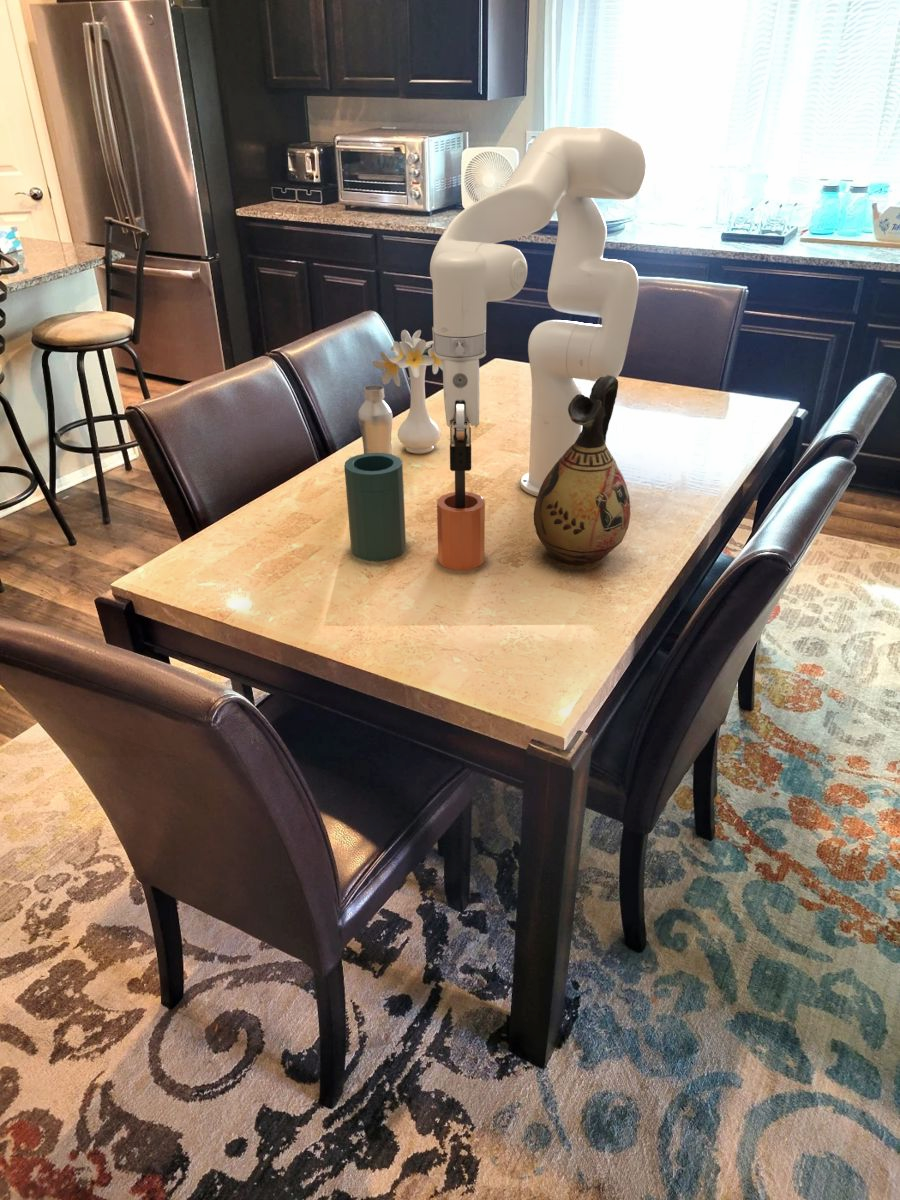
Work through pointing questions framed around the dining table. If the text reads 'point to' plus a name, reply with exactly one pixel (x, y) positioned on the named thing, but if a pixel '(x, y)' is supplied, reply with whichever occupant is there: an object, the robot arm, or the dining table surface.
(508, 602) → the dining table surface
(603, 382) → the ceramic jug
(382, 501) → the teal hollow cylinder
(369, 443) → the metal bottle
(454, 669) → the dining table surface
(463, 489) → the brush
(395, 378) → the flower vase
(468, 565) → the crock
